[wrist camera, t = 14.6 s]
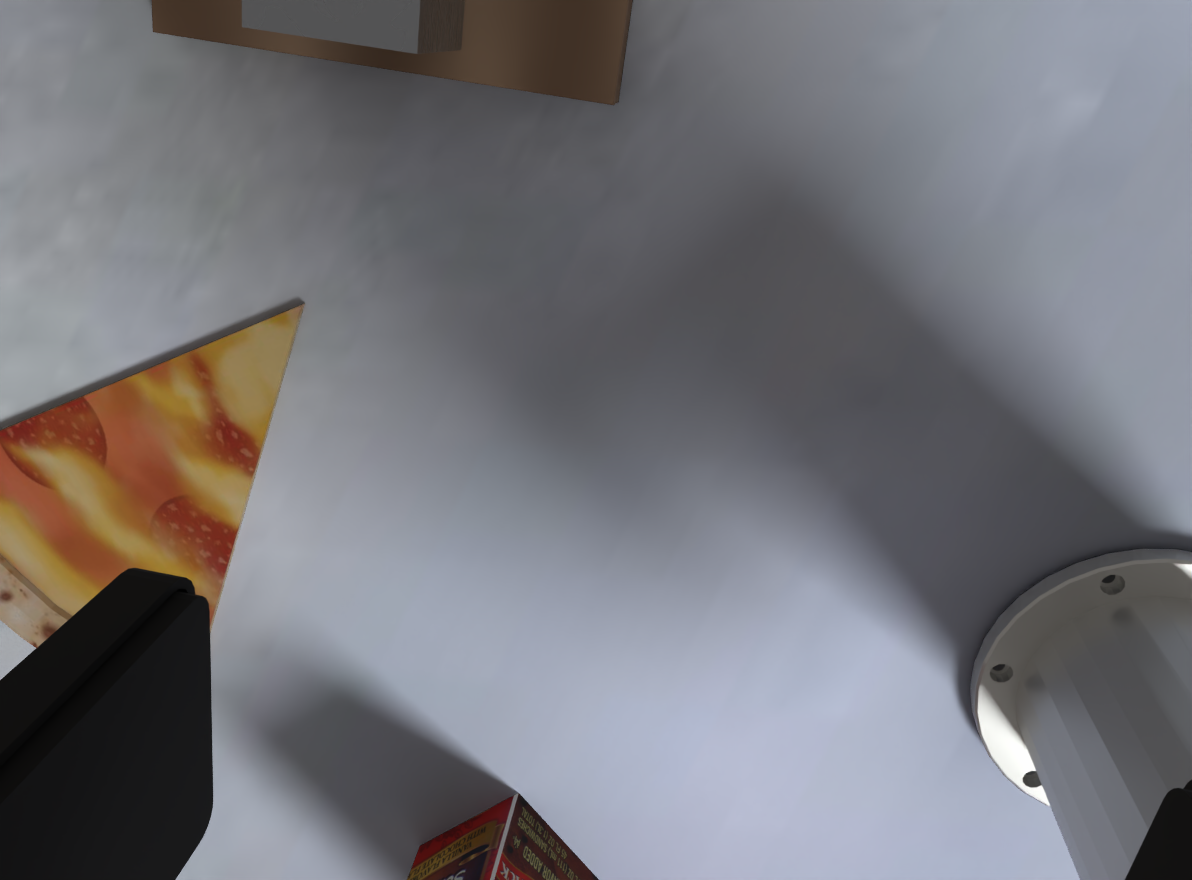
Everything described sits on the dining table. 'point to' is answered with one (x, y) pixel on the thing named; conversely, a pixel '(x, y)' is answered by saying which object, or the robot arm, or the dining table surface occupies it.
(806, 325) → the dining table surface
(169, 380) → the pizza slice
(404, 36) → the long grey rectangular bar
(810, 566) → the dining table surface
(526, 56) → the peg rack
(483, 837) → the ice cream box
